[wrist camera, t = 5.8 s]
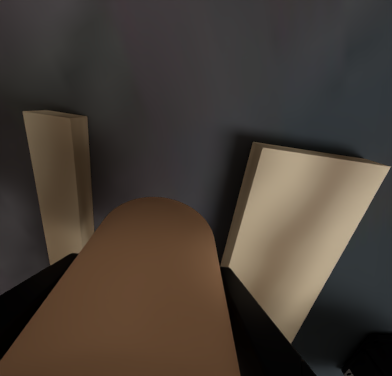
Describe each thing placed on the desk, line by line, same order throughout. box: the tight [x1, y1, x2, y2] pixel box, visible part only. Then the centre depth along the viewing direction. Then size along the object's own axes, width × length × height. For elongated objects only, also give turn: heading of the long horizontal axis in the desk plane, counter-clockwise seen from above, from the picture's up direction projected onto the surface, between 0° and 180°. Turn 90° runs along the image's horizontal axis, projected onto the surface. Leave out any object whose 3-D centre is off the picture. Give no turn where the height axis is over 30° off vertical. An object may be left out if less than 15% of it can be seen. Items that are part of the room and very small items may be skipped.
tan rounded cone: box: [0, 197, 241, 376], centre depth 6 cm, size 5×5×5 cm
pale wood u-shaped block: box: [23, 110, 390, 343], centre depth 11 cm, size 18×16×6 cm
